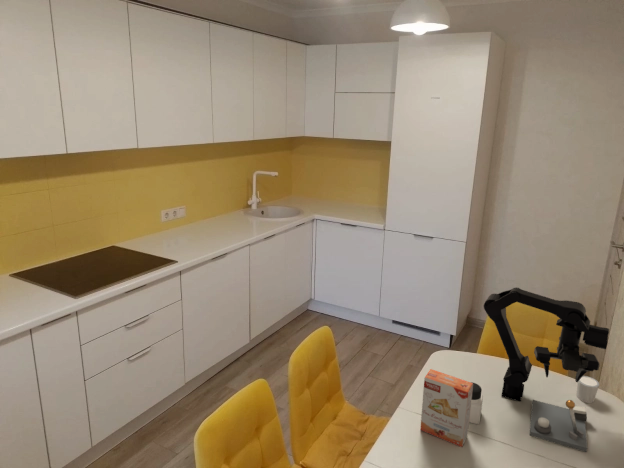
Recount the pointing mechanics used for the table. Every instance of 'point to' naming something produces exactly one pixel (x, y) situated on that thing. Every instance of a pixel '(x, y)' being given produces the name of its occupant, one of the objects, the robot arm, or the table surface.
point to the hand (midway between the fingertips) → (561, 379)
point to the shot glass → (587, 389)
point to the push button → (543, 422)
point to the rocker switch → (579, 410)
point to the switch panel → (558, 425)
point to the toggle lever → (572, 414)
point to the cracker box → (446, 407)
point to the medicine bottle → (476, 404)
